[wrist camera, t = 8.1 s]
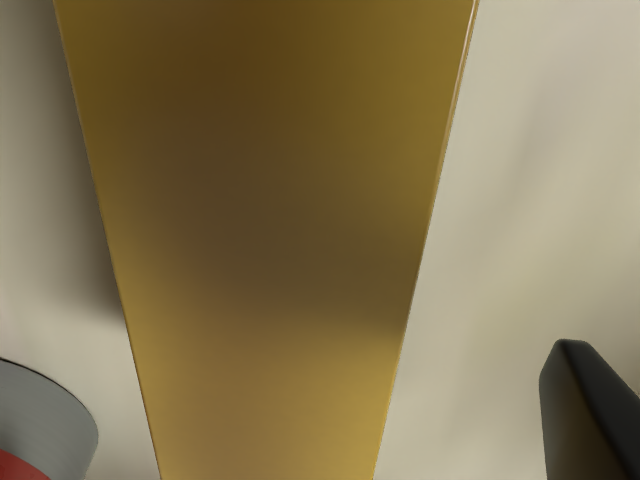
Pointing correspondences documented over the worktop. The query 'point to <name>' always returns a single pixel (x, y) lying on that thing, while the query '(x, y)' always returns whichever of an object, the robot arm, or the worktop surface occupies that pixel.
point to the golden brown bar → (266, 212)
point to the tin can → (42, 429)
